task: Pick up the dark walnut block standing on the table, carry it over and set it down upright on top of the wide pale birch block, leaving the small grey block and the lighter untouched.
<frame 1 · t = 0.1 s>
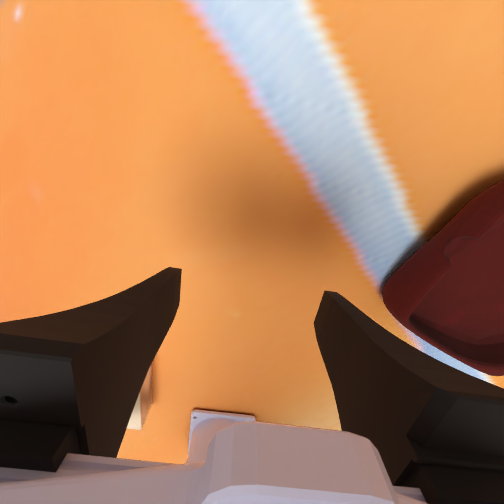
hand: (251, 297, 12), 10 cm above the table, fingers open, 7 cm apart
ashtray: (459, 269, 23), on the table
birch block: (118, 373, 29), on the table
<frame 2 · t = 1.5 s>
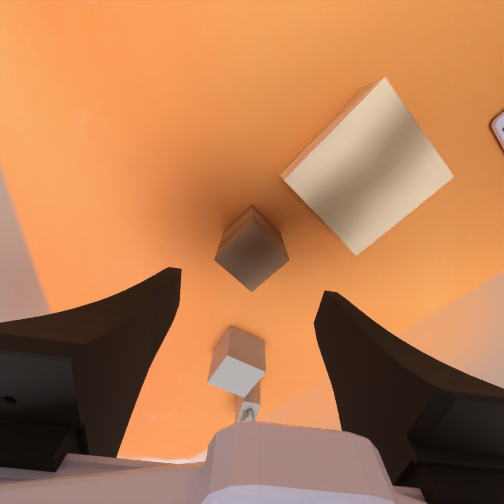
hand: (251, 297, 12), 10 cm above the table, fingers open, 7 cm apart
walnut block: (252, 233, 21), on the table
birch block: (349, 173, 20), on the table
lighter: (245, 386, 29), on the table
grey block: (238, 345, 26), on the table
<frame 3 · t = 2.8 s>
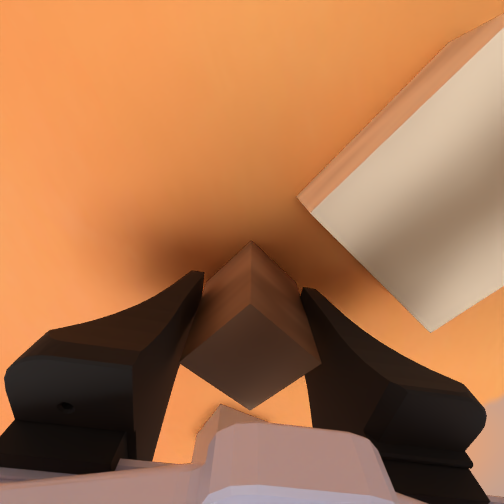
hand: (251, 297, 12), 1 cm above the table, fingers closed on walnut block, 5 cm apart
walnut block: (251, 282, 14), on the table, touching gripper
birch block: (411, 190, 12), on the table
grey block: (232, 427, 19), on the table
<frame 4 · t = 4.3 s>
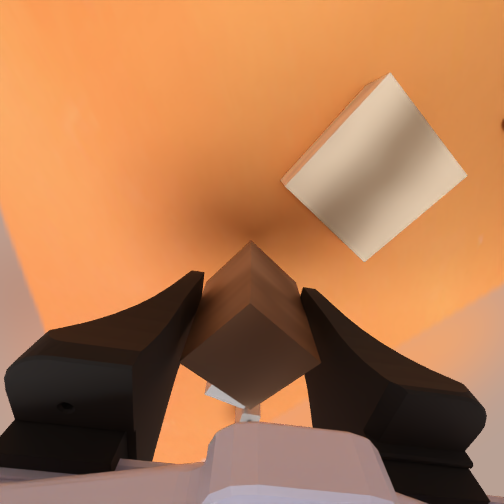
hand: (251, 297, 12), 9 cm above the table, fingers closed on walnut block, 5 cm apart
walnut block: (251, 282, 14), point 7 cm above the table, touching gripper
birch block: (354, 175, 19), on the table
lighter: (244, 395, 28), on the table
grey block: (237, 353, 25), on the table
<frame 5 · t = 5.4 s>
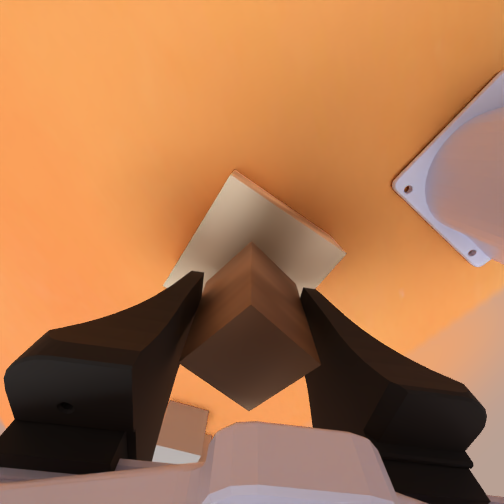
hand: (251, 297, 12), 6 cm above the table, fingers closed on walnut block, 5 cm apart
walnut block: (250, 282, 14), point 5 cm above the table, touching gripper
birch block: (252, 248, 18), on the table
lighter: (203, 452, 28), on the table
grey block: (184, 417, 25), on the table
when the fingers open (5 cm above the table, at t = 6.0 s): walnut block stays where it is, resting on birch block.
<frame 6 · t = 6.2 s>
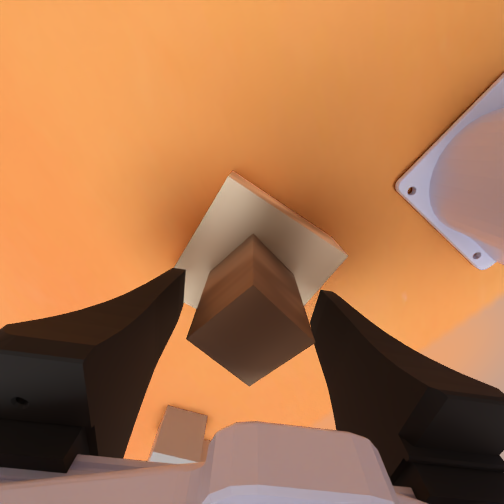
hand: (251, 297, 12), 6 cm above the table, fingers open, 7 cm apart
walnut block: (251, 273, 14), point 3 cm above the table, touching birch block
birch block: (251, 250, 18), on the table, touching walnut block
lighter: (202, 457, 27), on the table
grey block: (182, 422, 25), on the table
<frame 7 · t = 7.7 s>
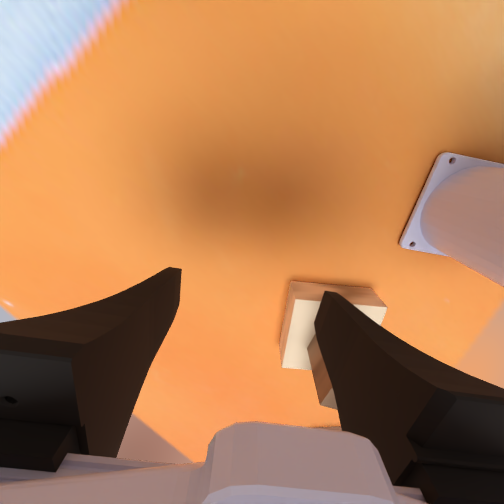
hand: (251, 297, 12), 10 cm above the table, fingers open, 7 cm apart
walnut block: (332, 340, 23), point 3 cm above the table, touching birch block
birch block: (321, 315, 26), on the table, touching walnut block
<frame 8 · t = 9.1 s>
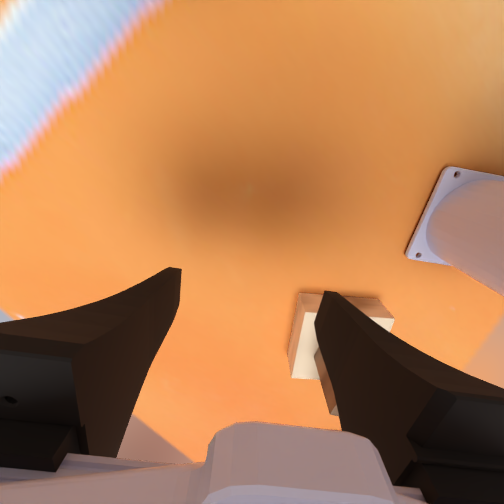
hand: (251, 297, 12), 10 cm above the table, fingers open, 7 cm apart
walnut block: (338, 347, 23), point 3 cm above the table
birch block: (329, 325, 26), on the table
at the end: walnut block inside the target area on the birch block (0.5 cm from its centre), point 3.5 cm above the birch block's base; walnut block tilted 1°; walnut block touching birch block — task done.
